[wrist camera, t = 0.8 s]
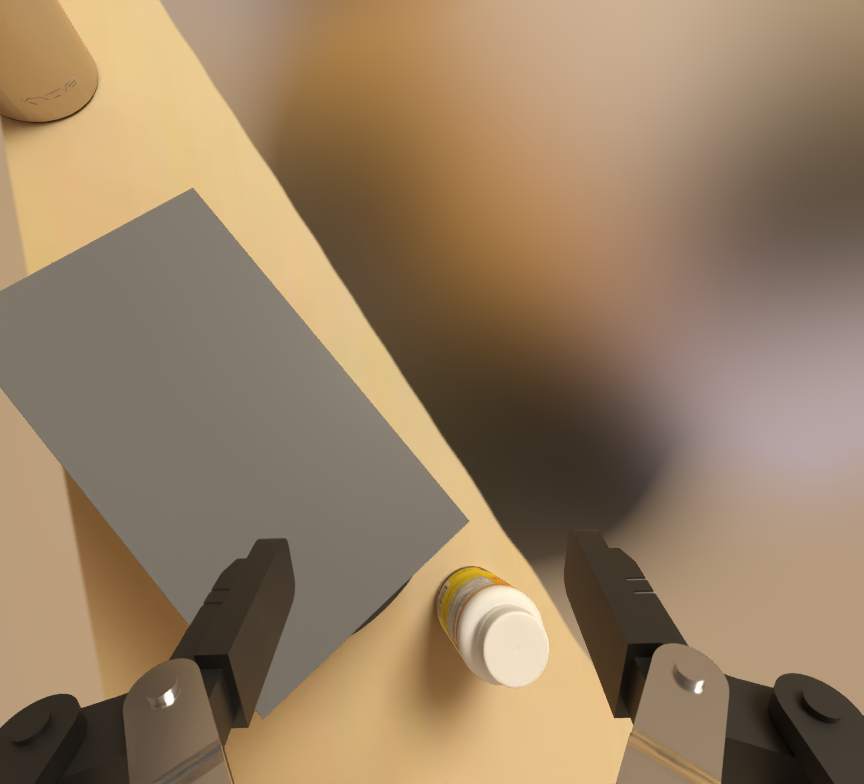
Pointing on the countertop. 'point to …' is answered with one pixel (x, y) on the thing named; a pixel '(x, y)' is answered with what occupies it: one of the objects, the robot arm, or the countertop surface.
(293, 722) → the countertop surface
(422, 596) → the countertop surface
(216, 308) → the housing
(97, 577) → the countertop surface
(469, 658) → the supplement bottle
